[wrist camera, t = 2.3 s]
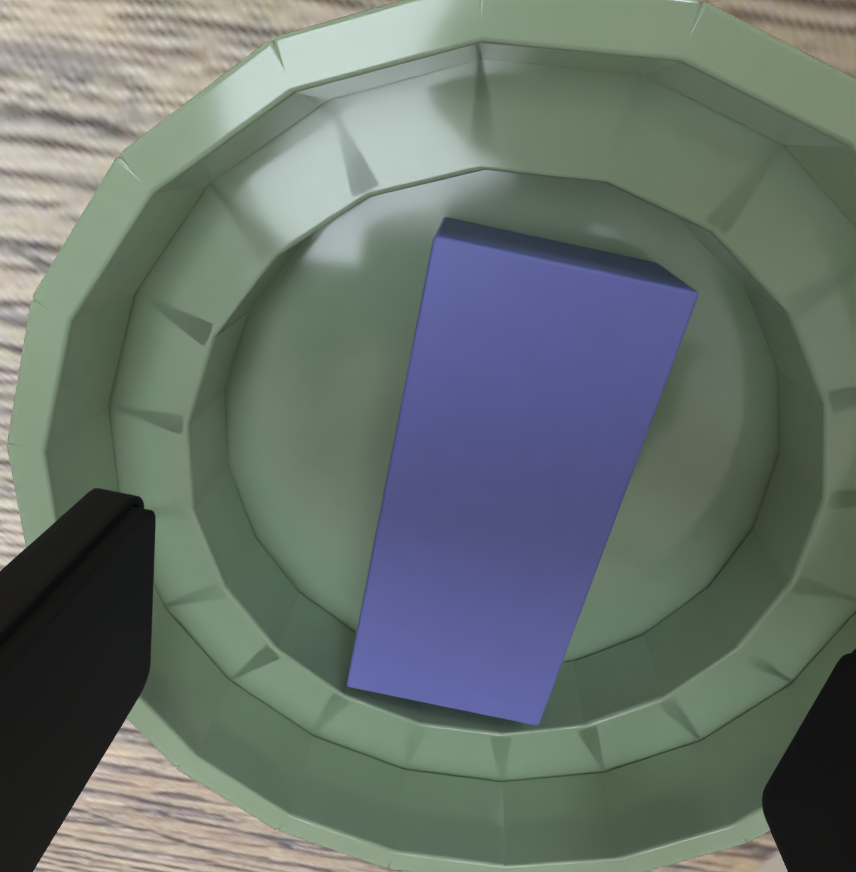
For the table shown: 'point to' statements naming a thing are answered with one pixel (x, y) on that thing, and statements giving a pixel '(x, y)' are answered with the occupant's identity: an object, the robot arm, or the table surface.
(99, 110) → the table surface
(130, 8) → the table surface
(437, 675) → the rectangular block
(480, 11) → the bowl
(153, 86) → the table surface
